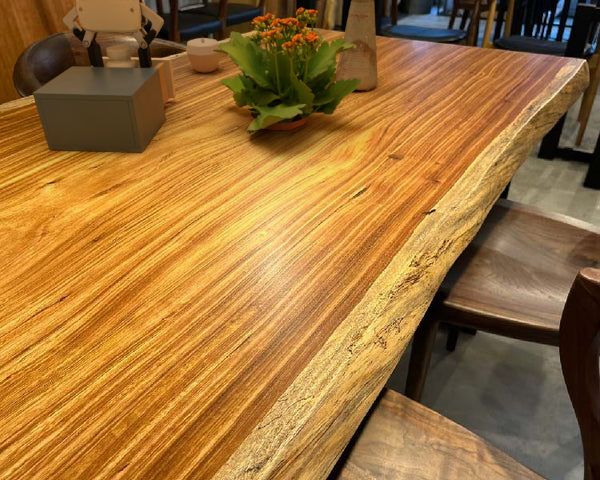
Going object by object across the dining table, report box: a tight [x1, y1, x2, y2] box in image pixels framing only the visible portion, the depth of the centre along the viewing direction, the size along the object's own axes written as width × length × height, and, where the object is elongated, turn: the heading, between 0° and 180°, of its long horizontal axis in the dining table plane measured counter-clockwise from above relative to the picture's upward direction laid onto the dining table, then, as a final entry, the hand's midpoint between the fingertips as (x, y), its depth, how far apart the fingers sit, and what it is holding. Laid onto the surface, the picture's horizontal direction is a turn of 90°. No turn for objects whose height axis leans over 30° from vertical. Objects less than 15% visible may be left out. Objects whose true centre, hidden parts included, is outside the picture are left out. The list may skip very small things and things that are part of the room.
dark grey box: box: [32, 65, 167, 154], centre depth 85 cm, size 15×15×9 cm
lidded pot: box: [185, 37, 222, 74], centre depth 117 cm, size 8×8×7 cm
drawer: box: [90, 56, 177, 105], centre depth 96 cm, size 18×13×7 cm
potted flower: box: [213, 7, 362, 135], centre depth 89 cm, size 25×24×18 cm
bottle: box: [335, 0, 379, 91], centre depth 102 cm, size 9×9×28 cm
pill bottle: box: [105, 44, 138, 68], centre depth 93 cm, size 5×5×9 cm
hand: (122, 70), depth 92 cm, fingers open, 7 cm apart
